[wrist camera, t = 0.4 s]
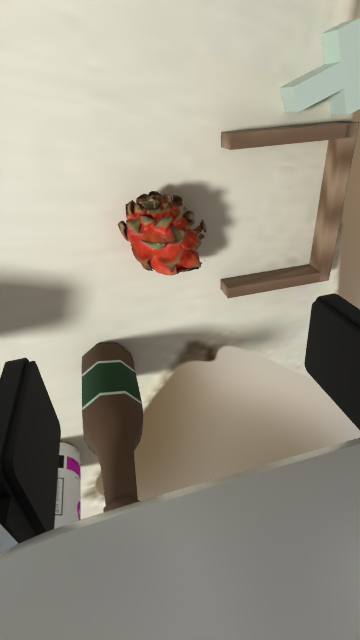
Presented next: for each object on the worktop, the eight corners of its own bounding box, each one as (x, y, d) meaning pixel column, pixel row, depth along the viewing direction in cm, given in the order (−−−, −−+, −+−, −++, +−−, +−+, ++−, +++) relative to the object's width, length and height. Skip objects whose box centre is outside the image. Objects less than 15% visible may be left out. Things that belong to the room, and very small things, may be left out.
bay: (221, 132, 39) (230, 134, 36) (342, 121, 42) (359, 122, 39) (220, 288, 50) (228, 298, 47) (316, 272, 52) (328, 280, 50)
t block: (273, 59, 36) (287, 55, 34) (341, 23, 36) (360, 17, 34) (289, 136, 41) (302, 138, 39) (349, 104, 41) (367, 105, 38)
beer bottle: (91, 333, 48) (99, 491, 29) (141, 348, 52) (178, 497, 32) (72, 374, 51) (67, 543, 32) (120, 385, 55) (143, 544, 35)
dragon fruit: (123, 179, 40) (182, 242, 48) (89, 237, 38) (157, 294, 46) (173, 163, 34) (231, 238, 42) (136, 230, 32) (205, 297, 40)
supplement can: (88, 445, 60) (90, 533, 48) (66, 474, 63) (63, 565, 50) (43, 434, 56) (32, 527, 44) (21, 466, 59) (6, 562, 46)
